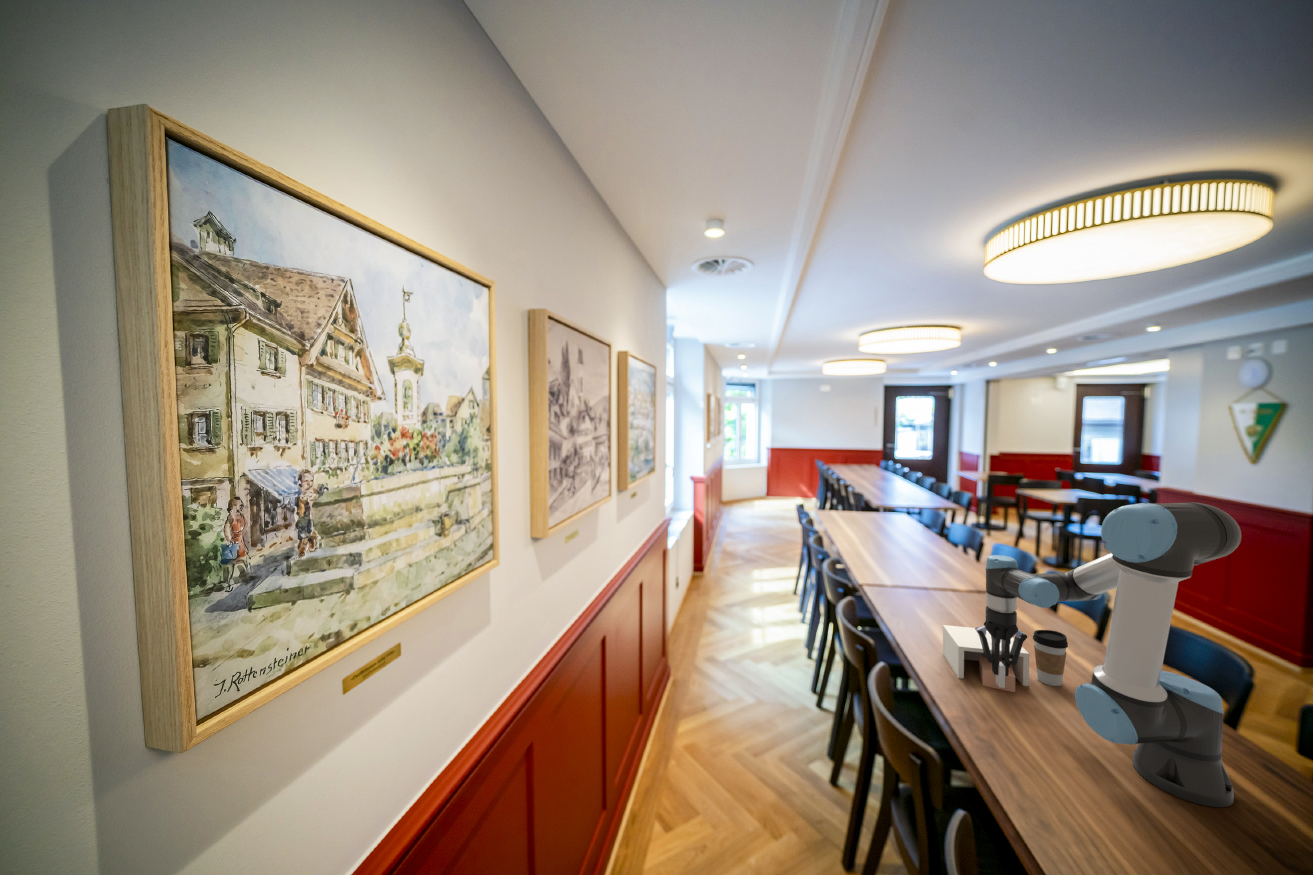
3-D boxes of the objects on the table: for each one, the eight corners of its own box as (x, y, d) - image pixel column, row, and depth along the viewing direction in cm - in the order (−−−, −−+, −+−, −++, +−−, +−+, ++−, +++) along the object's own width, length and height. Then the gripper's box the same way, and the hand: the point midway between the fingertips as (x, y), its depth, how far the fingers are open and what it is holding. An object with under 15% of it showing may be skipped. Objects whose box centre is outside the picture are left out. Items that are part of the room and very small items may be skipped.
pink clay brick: (1015, 693, 140) (1015, 676, 140) (982, 686, 144) (982, 670, 144) (1009, 677, 149) (1009, 661, 149) (979, 670, 153) (979, 655, 153)
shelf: (1028, 686, 143) (1029, 653, 143) (958, 677, 148) (958, 646, 148) (1005, 660, 158) (1006, 630, 158) (942, 653, 164) (942, 624, 163)
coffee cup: (1074, 689, 141) (1075, 640, 140) (1042, 686, 143) (1042, 638, 142) (1056, 674, 149) (1057, 628, 149) (1026, 672, 151) (1026, 626, 150)
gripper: (1020, 605, 141) (1019, 681, 142) (971, 601, 145) (970, 675, 146) (1033, 615, 134) (1031, 695, 135) (980, 610, 138) (980, 688, 139)
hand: (1000, 684), depth 140 cm, fingers closed
